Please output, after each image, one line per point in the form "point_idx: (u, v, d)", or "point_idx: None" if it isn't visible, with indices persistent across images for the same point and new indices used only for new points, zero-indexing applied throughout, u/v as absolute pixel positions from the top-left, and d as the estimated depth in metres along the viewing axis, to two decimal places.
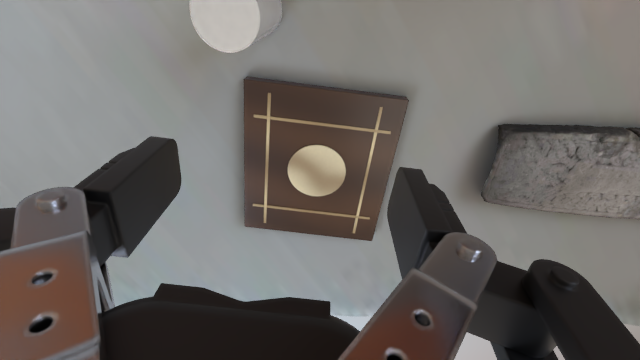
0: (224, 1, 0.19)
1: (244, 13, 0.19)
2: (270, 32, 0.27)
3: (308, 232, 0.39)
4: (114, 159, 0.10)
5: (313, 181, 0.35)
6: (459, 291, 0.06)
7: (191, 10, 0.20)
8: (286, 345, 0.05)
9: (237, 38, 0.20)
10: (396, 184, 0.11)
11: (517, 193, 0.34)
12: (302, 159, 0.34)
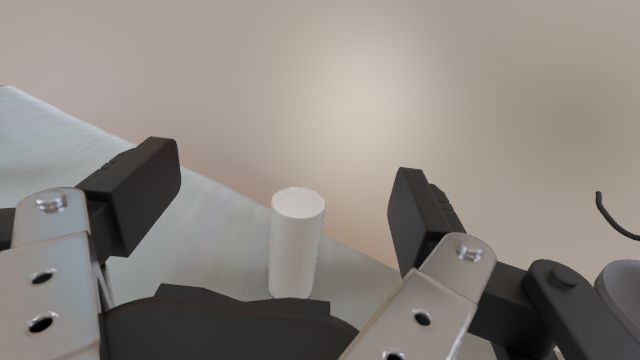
0: (304, 197, 0.26)
1: (311, 206, 0.25)
2: (294, 284, 0.28)
3: None
4: (114, 159, 0.10)
5: None
6: (459, 291, 0.06)
7: (281, 190, 0.27)
8: (286, 345, 0.05)
9: (295, 211, 0.24)
10: (396, 184, 0.11)
11: None
12: None
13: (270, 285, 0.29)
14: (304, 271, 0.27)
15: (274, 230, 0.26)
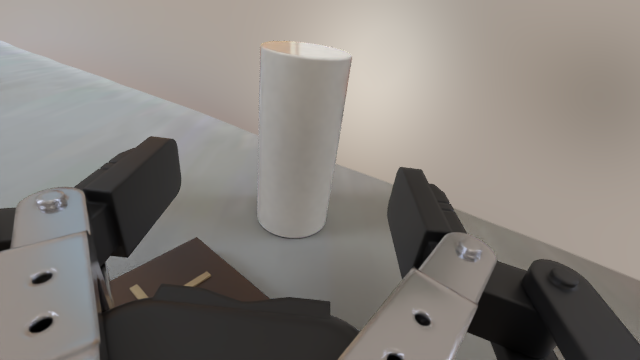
0: (317, 48, 0.16)
1: (329, 53, 0.15)
2: (298, 201, 0.17)
3: None
4: (114, 159, 0.10)
5: None
6: (459, 291, 0.06)
7: (277, 41, 0.16)
8: (286, 345, 0.05)
9: (301, 53, 0.14)
10: (396, 184, 0.11)
11: None
12: None
13: (259, 210, 0.19)
14: (315, 177, 0.17)
15: (264, 97, 0.15)
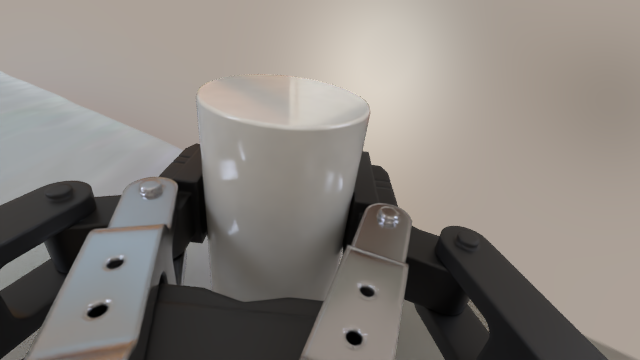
0: (306, 91, 0.09)
1: (328, 106, 0.08)
2: None
3: None
4: (182, 153, 0.11)
5: None
6: (389, 256, 0.07)
7: (237, 75, 0.09)
8: (286, 345, 0.05)
9: (271, 112, 0.07)
10: None
11: None
12: None
13: None
14: None
15: (207, 185, 0.08)
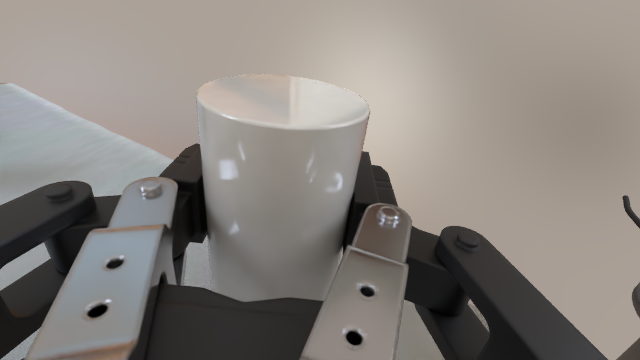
0: (306, 90, 0.09)
1: (328, 106, 0.08)
2: None
3: None
4: (182, 153, 0.11)
5: None
6: (389, 256, 0.07)
7: (236, 75, 0.09)
8: (286, 345, 0.05)
9: (272, 112, 0.07)
10: None
11: None
12: None
13: None
14: None
15: (207, 185, 0.08)
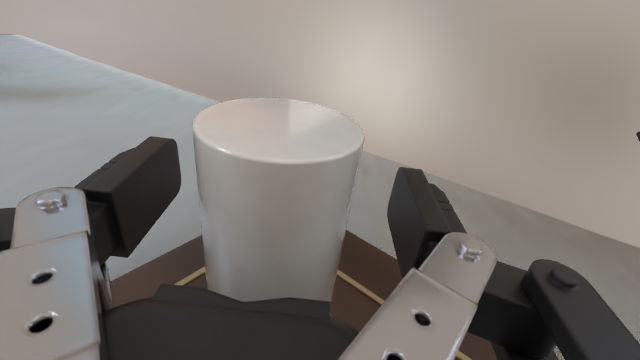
0: (301, 116, 0.09)
1: (322, 134, 0.08)
2: None
3: None
4: (114, 159, 0.10)
5: None
6: (459, 291, 0.06)
7: (233, 100, 0.09)
8: (286, 345, 0.05)
9: (266, 144, 0.07)
10: (396, 184, 0.11)
11: None
12: None
13: None
14: None
15: (203, 211, 0.08)
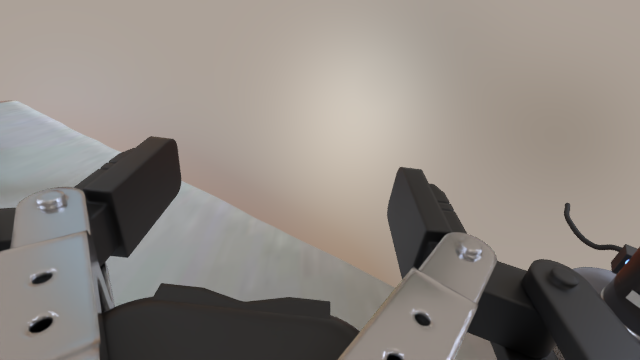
0: None
1: None
2: None
3: None
4: (114, 159, 0.10)
5: None
6: (459, 291, 0.06)
7: None
8: (286, 345, 0.05)
9: None
10: (396, 184, 0.11)
11: None
12: None
13: None
14: None
15: None
